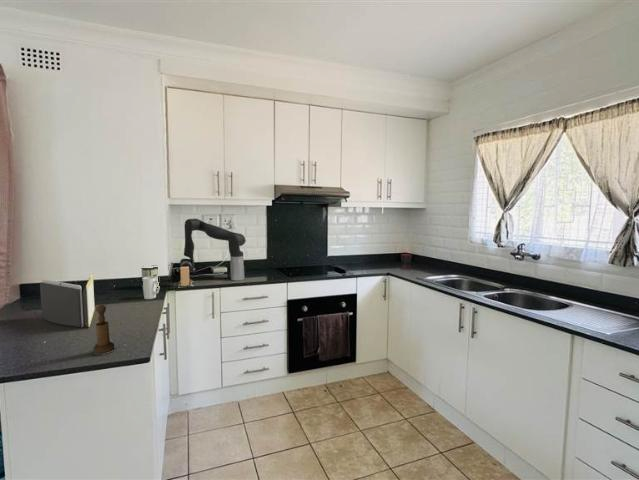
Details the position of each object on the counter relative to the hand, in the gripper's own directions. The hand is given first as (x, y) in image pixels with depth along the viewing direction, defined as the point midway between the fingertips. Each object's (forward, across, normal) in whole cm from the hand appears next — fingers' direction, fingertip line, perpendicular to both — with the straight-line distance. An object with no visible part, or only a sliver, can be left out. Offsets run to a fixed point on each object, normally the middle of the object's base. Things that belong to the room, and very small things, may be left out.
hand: (185, 271), depth 233 cm
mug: (+32, -17, +8) cm, 37 cm away
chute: (+5, 0, +8) cm, 9 cm away
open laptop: (+58, -45, +8) cm, 74 cm away
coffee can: (+7, -21, +8) cm, 23 cm away
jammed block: (+8, 0, +8) cm, 12 cm away
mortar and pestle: (+105, -25, +8) cm, 108 cm away
